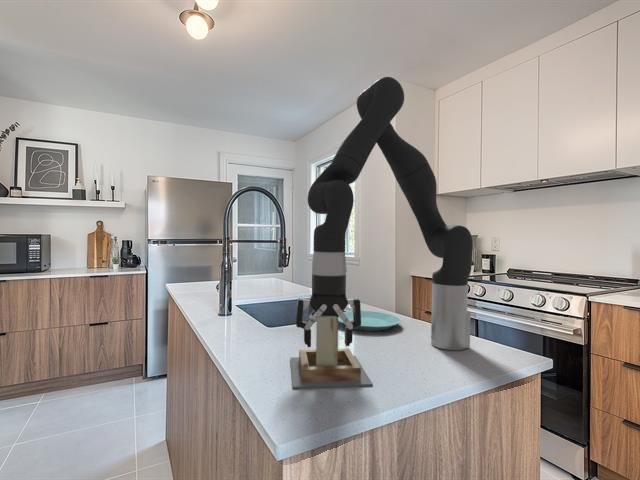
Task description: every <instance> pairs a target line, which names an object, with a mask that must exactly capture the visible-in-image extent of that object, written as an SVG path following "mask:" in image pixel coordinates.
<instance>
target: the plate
mask: <svg viewBox="0 0 640 480" xmlns="http://www.w3.org/2000/svg"><path fill="white" fill-rule="evenodd" d="M343 313H344V314H345V315H346V317H347V318H348V319H349V321H352V320H353V310H351V311H343ZM401 322H402V319H401V318H400V317H399V316H397V315H394V314H391V313H386V312H382V311H373V310H361V325H360V326H356V327H354V328H353V330H358V331H365V332H366V331H367V332H368V331H369V332H378V331H379V332H380V331H385V330H388V329H390V328H392V327H394V326H396V325H399V324H401ZM338 323H341V324H343V325H345V323H344V322H343V321H342V319H341V318H340V317H338ZM345 326H346V325H345Z"/></svg>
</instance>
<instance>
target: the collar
mask: <svg viewBox="0 0 640 480" xmlns="http://www.w3.org/2000/svg"><path fill="white" fill-rule="evenodd" d="M354 356H355V355H353V353H352V351H351V349H350V348H338V362H339V361H344V362H345V364H346V366H318V367H309V363H308V362H316V348H315V349H299V350H298V357H299V363H300V370H301V377H302V382H322V381H349V380H361V367H360V366H359V364H358V362H357V361H356V359H355V357H354Z"/></svg>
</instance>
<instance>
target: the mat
mask: <svg viewBox="0 0 640 480" xmlns="http://www.w3.org/2000/svg"><path fill="white" fill-rule="evenodd" d="M353 356H354V357H355V359H356V361H357V362H358V364H359V366H360V367H361V380H349V381H322V382H302V377H301V370H300V363H299V356H298V357H297V356H296V357H293V356H292V357H290V358H289V359H290V372H291V373H290V374H291V382H292V383H291V385H292V386H291V387H292V390H304V389H325V388H326V389H329V388H350V387H351V388H353V387H354V388H355V387H356V388H358V387H373V386H374V384H373V382H372V381H371V379H370V377H369V375H368V374H367V372H366V370H365V368H363V366H362V364H361V363H360V361H359V359H358V358H357V356H356V355H353ZM308 363H309V367H316V362H308ZM337 366H346V364H345V362H344V361H339V362H338V365H337Z"/></svg>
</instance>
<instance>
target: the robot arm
mask: <svg viewBox="0 0 640 480" xmlns="http://www.w3.org/2000/svg"><path fill="white" fill-rule="evenodd" d="M404 102H405V93H404V88H403V86H402V84H401V82H400V81H398V80H397V79H395V78H394V77H392V76H384V77H381V78H379V79H378V80H376V81H375V82H373V83H372V84H371V85H369V87H367V88H366V89H364V90H363V91H362V92H360V94H359V95H358V96H357V99H356V109H357V113H358V115H359V118H360V119H361V120H360V121H359V122H358V123H357V124H356V126H355V127H354V128H353V129H352V130H351V131H350V132H349V134H348V135H347V136H346V137H345V139H344V140H343V142H341V145H340V146H339V148H338V149H337V152H336V153H335V154H334V157H333V159H332V160H331V163H330V164H329V165H328V166H327V167H326V168H325V169H324V170H323V171H322V172H321V173H320V174H319V176H318V177H317V178H316V179H315V180H314V181H313V183H312V185H311V186H310V188H309V190H308V194H307V205H308V207H309V209H310V210H311V211H312V212H313V213H315V214H319V215H326V217H325V219H324V222H323V223H322V224H319V225H317V226H316V227H314V230H313V251H312V252H313V253H312V254H313V255H312V262H311V297H310V299H304V298H302V297H299V298H298V299H297V300H296V301H297V303H296V315H295V325H296V327H297V328H299V329H300V328H301V329H303V330H304V331H303V342H304V344H305V345H306V346H307V348H311V347H312V330H311V328H312V327H313V325H314V324H315V323H317V317H319V316H337V318H338V317H340V318H341V319H342V321H343V322H344V323H345V327H344V345H345V346H346V347H350V344H352V343H353V333H354V332H353V331H354V329H353V328H354V327H356V326H360V325H361V311H362V310H361V300H360V299H359V298H357V297H356V296H355V297H353V298H347V272H348V271H347V258H346V234H347V230H348V226H349V223H350V219H351V216H352V211H353V209H354V201H355V199H354V197H355V196H354V192H353V189H352V186H351V185H350V184H353V183H354V182H356V180H357V179H359V176H360V174H361V173H362V172H363V171H362V170H363V168H364V167H365V165H366V162H367V160H368V159H369V156H370V155H371V153H372V151H373V149H374V148H375V146H376V144H377V146H378V147H379V149H380V151H381V153H382V155H383V156H384V158H385V160H386V162H387V163H388V166H389V167H390V169H391V171H392V173H393V175H394V178H395V179H396V182H397V184H398V185H399V188H400V190H401V191H402V193H403V195H404V197H405V198H406V200H407V202H408V205H409V207H410V209H411V211H412V214H413V215H414V217H415V218H416V221H417V224H418V226H419V229H420V231H421V234H422V236H423V239H424V241H425V244H426V247H427V248H428V251H429V252H430V253H431V254H432V255H433V256H435V257H437V258H439V259H442V265H441V267H440V268H439V269H437V270H436V271H434V272H433V273H432V277H431V278H432V279H431V282H432V283H431V331H430V334H431V335H430V338H431V339H430V344H431V345H432V346H434V347H436V348H437V349H438V348H439V349H442V350H447V351H463V350H465V349H470V348H471V312H469V311H468V297H469V296H468V293H469V292H468V289H469V287H468V286H469V285H468V283H469V278H470V275H471V272H472V266H473V265H472V264H473V251H474V250H473V249H474V244H473V241H474V240H473V235H472V234H471V231H470V230H469V228H467V227H466V226H463V225H454V224H453V225H447V224H446V222H445V221H444V219H443V217H442V215H441V213H440V211H439V209H438V208H439V207H438V204H437V190H438V189H437V187H438V186H437V178H436V175H435V173H434V171H433V170H432V168H431V165H430V163H429V162H428V159H427V158H426V156H425V155H424V154H423V153H422V152H421V151H420V150H418V149H417V148H416V147H415V146H413V145H411V144H410V143H409V142H407V141H406V140H404V138H402V137H401V136H400V135H399V134H398V133H397V131H396V130H395V128H394V127H393V125H392V122H391V121H392V120H393V119H394V118H395V117H396V115H397V114H398V113H399V112H400V111H401V109H402V107H403V105H404ZM348 305H349V307H350V308H351V309H352V311H353V320H352V321H349V319H348V318H347V317H346V315H345V314H344V313H343V312H345V311H344V310H346V308H347V306H348ZM308 306H310V307H311V309H312V312H311V313H310V314H309V316H308V318H307V319H306V320H303V315H304V310H306V309H307V307H308Z"/></svg>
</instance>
